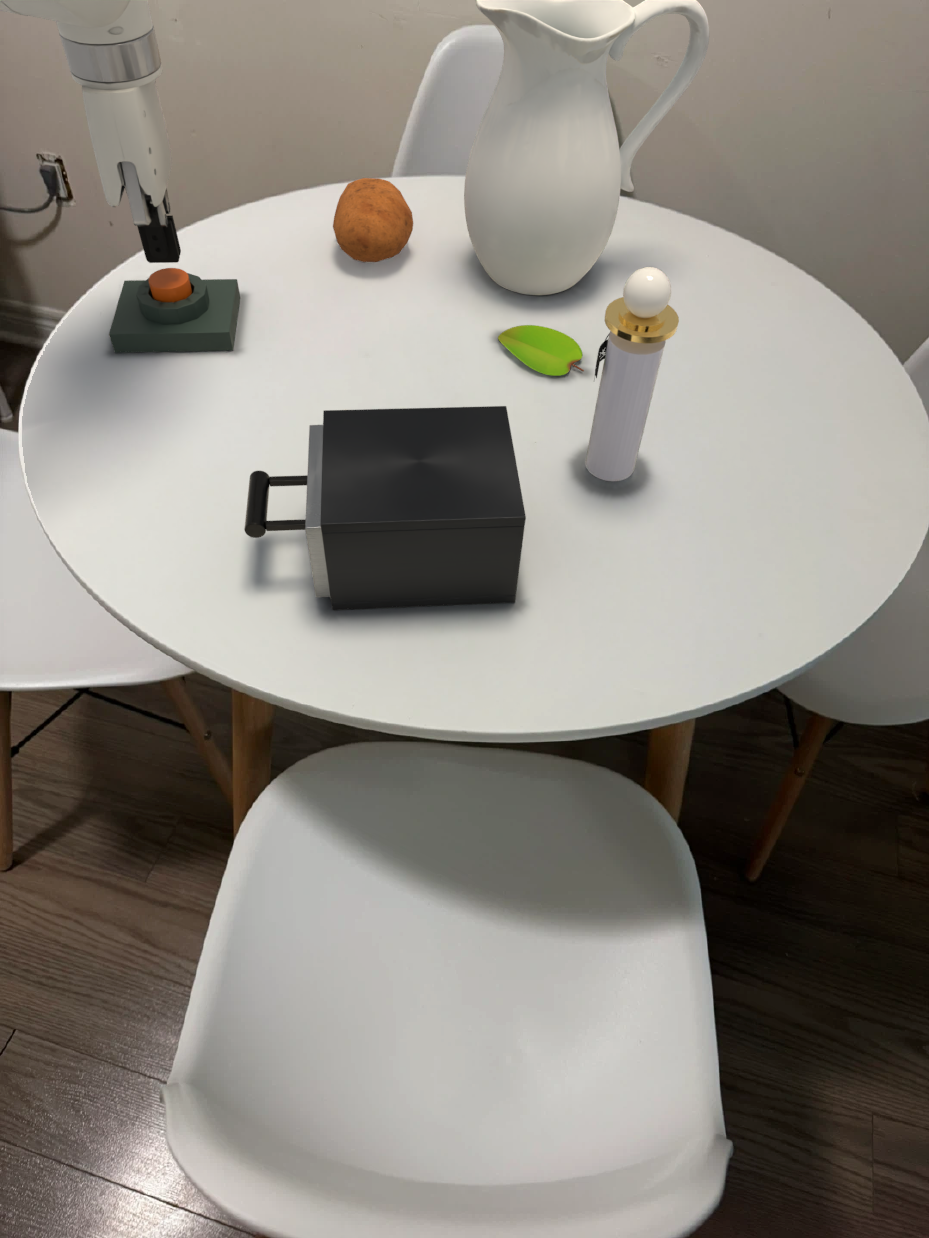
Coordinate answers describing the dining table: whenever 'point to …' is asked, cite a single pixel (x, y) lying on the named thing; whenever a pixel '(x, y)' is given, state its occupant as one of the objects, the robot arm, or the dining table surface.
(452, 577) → the cabinet
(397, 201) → the potato
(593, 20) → the pitcher
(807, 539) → the dining table surface
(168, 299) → the button
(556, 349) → the decorative leaf
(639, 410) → the perfume bottle
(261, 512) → the drawer
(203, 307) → the control block
